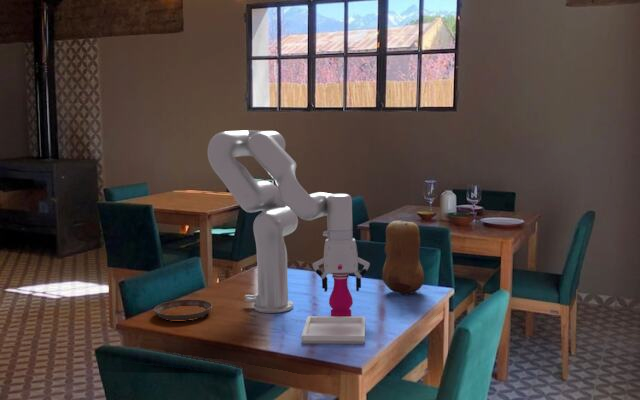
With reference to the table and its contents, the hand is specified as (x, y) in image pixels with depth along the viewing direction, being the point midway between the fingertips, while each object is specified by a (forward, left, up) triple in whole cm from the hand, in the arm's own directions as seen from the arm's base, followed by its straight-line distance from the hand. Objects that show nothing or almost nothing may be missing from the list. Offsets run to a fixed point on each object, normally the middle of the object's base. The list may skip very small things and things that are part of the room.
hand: (341, 290), depth 203 cm
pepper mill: (0, 0, -8) cm, 8 cm away
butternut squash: (+20, +26, -8) cm, 34 cm away
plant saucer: (-49, 0, -9) cm, 50 cm away
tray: (-1, -16, -8) cm, 18 cm away
